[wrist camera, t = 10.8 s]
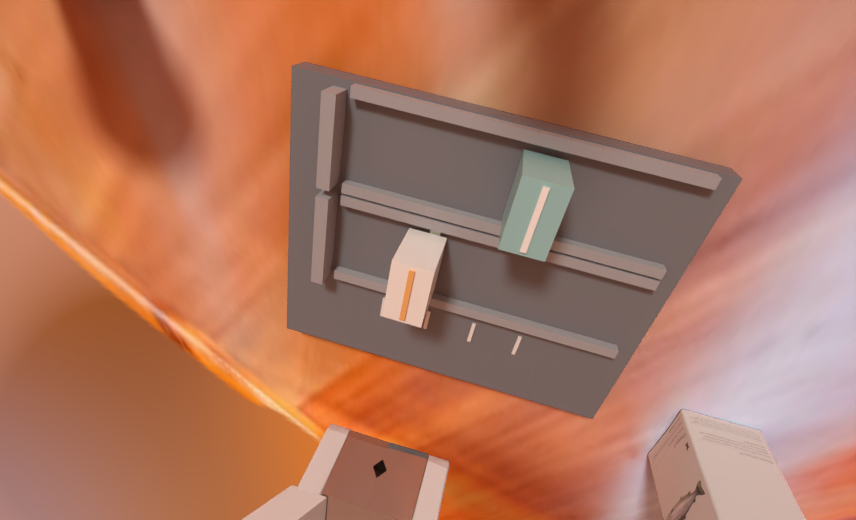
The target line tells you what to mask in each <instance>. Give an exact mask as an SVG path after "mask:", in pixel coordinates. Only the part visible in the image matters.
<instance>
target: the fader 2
mask: <svg viewBox="0 0 856 520" xmlns="http://www.w3.org/2000/svg"><path fill="white" fill-rule="evenodd" d="M574 189H575V188H574V184H573V179H572V174H571V169H570V164H569V161H568V160H564V159H560V158H556V157H552V156H549V155H545V154H541V153H537V152H533V151H529V150H525V149H524V151H523V154H522V157H521V160H520V163H519V166H518V169H517V173H516V176H515V179H514V182H513V185H512V188H511V191H510V195H509V198H508V201H507V204H506V207H505V210H504V213H503V217H502V224H501V231H500V238H499V245H498V249H499V250H503V251H507V252H510V253H514V254H518V255H521V256H525V257H529V258H532V259H536V260H540V261H543V262H545V261H546V258H547V256H548V253H549V251H550V248H551V246H552V243H553V241H554V238H555V236H556V233H557V231H558V228H559V226H560V224H561V221H562V219H563V216H564V214H565V211H566V209H567V206H568V204H569V201H570V199H571V196H572V194H573V191H574Z"/></svg>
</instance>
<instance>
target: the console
mask: <svg viewBox="0 0 856 520" xmlns="http://www.w3.org/2000/svg"><path fill="white" fill-rule="evenodd" d="M524 149H525V150H529V151H533V152H537V153H541V154H545V155H549V156H552V157H556V158H560V159H564V160H568V161H569V164H570V169H571V174H572V179H573V184H574V188H575V189H574V191H573V194H572V196H571V199H570V201H569V204H568V206H567V209H566V211H565V214H564V216H563V219H562V221H561V224H560V226H559V228H558V231H557V233H556V236H555V238H554V241H553V243H552V246H551V248H550V251H549V253H548V256H547V258H546V261H545V262H543V261H540V260H536V259H532V258H529V257H525V256H521V255H518V254H514V253H510V252H507V251H503V250H499V249H498V245H499V238H500V231H501V224H502V217H503V213H504V210H505V207H506V204H507V201H508V198H509V195H510V191H511V188H512V185H513V182H514V179H515V176H516V173H517V169H518V166H519V163H520V160H521V157H522V154H523V151H524ZM741 180H742V178H741V177H740V176H739V175H738V174H737V173H736V172H734V171H733V170H732V169H731V168H728V167H724V166H720V165H716V164H712V163H708V162H704V161H700V160H696V159H692V158H688V157H684V156H680V155H676V154H672V153H668V152H664V151H660V150H656V149H652V148H648V147H644V146H640V145H636V144H632V143H628V142H624V141H620V140H616V139H612V138H608V137H604V136H600V135H596V134H592V133H588V132H584V131H580V130H576V129H572V128H567V127H563V126H559V125H555V124H551V123H547V122H543V121H539V120H535V119H531V118H527V117H523V116H519V115H515V114H511V113H507V112H503V111H499V110H495V109H491V108H487V107H483V106H479V105H475V104H471V103H467V102H463V101H459V100H455V99H451V98H447V97H443V96H439V95H435V94H431V93H427V92H423V91H419V90H415V89H411V88H407V87H403V86H399V85H395V84H391V83H387V82H383V81H379V80H375V79H371V78H367V77H363V76H359V75H355V74H351V73H347V72H343V71H339V70H335V69H331V68H327V67H323V66H319V65H315V64H311V63H307V62H303V63H300V64H296V65H293V66H292V85H291V139H290V192H289V245H288V298H287V328H288V329H292V330H295V331H298V332H302V333H305V334H309V335H312V336H315V337H319V338H322V339H325V340H329V341H332V342H335V343H339V344H342V345H345V346H349V347H352V348H356V349H359V350H362V351H366V352H369V353H372V354H376V355H379V356H382V357H386V358H389V359H393V360H396V361H399V362H403V363H406V364H409V365H413V366H416V367H419V368H423V369H426V370H430V371H433V372H436V373H440V374H443V375H446V376H450V377H453V378H456V379H460V380H463V381H467V382H470V383H473V384H477V385H480V386H483V387H487V388H490V389H493V390H497V391H500V392H504V393H507V394H510V395H514V396H517V397H520V398H524V399H527V400H530V401H534V402H537V403H541V404H544V405H547V406H551V407H554V408H557V409H561V410H564V411H567V412H571V413H574V414H578V415H581V416H584V417H588V418H591V419H593V418H594V416H595V414H596V413H597V411H598V409H599V408H600V406H601V405H602V403H603V401H604V400H605V398H606V397H607V395H608V393H609V392H610V390H611V389H612V387H613V385H614V384H615V382H616V381H617V379H618V377H619V376H620V374H621V373H622V371H623V369H624V368H625V366H626V365H627V363H628V361H629V360H630V358H631V357H632V355H633V353H634V352H635V350H636V349H637V347H638V345H639V344H640V342H641V341H642V339H643V337H644V336H645V334H646V333H647V331H648V329H649V328H650V326H651V325H652V323H653V321H654V320H655V318H656V317H657V315H658V313H659V312H660V310H661V309H662V307H663V305H664V304H665V302H666V301H667V299H668V297H669V296H670V294H671V293H672V291H673V289H674V288H675V286H676V285H677V283H678V281H679V280H680V278H681V277H682V275H683V273H684V272H685V270H686V268H687V267H688V265H689V264H690V262H691V260H692V259H693V257H694V256H695V254H696V252H697V251H698V249H699V248H700V246H701V244H702V243H703V241H704V240H705V238H706V236H707V235H708V233H709V232H710V230H711V228H712V227H713V225H714V224H715V222H716V220H717V219H718V217H719V216H720V214H721V212H722V211H723V209H724V208H725V206H726V204H727V203H728V201H729V200H730V198H731V196H732V195H733V193H734V192H735V190H736V188H737V187H738V185H739V184H740V182H741ZM409 228H412V229H416V230H419V231H423V232H427V233H430V234H434V235H438V236H441V237H445V238H447V240H446V244H445V248H444V252H443V256H442V261H441V265H440V269H439V273H438V277H437V281H436V285H435V289H434V292H433V295H432V298H431V301H430V303H429V306H428V309H427V312H426V315H425V318H424V321H423V324H422V327H421V328H420V327H417V326H413V325H410V324H406V323H403V322H399V321H396V320H392V319H389V318H386V317H382V313H383V308H384V302H385V296H386V290H387V285H388V279H389V273H390V267H391V262H392V259H393V257H394V255H395V254H396V252H397V250H398V248H399V246H400V244H401V243H402V241H403V239H404V237H405V235H406V233H407V231H408V230H409Z"/></svg>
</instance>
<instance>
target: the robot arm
mask: <svg viewBox="0 0 856 520" xmlns="http://www.w3.org/2000/svg"><path fill="white" fill-rule="evenodd" d="M428 455H429V454H427V453H423V452H420V451H417V450H413V449H410V448H407V447H403V446H400V445H397V444H393V443H389V442H386V441H383V440H380V439H377V438H374V437H370V436H367V435H364V434H361V433H358V432H355V431H352V430H350V429H347V428H344V427H340V426H337V425H334V424H331V425H330V426H329V428H328V429H327V430H326V432H325V434H324V436H323V438H322V440H321V442H320V444H319V446H318V448H317V450H316V452H315V454H314V456H313V458H312V460H311V462H310V464H309V466H308V467H307V470H306V471H305V473H304V475H303V478H302V479H301V481H300V483H299V485H298V487H296V486H293V485H291V486H290V487H288V488H287V489H285V490H284V491H282V492H281V493H280V494H278V495H277V496H275V497H274V498H272V499H271V500H269V501H268V502H267V503H265V504H264V505H262V506H261V507H259V508H258V509H257V510H255V511H254V512H252V513H251V514H249V515H248V516H246V517H245V518H243V519H242V520H438V518H439V513H440V508H441V503H442V499H443V494H444V489H445V484H446V479H447V474H448V470H449V461H448V460H445V459H441V458H438V457H435V456H432V455H429V456H428Z"/></svg>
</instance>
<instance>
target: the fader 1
mask: <svg viewBox="0 0 856 520" xmlns="http://www.w3.org/2000/svg"><path fill="white" fill-rule="evenodd" d="M446 240H447V238H445V237H441V236H438V235H434V234H430V233H427V232H423V231H419V230H416V229H412V228H409V230H408V231H407V233H406V235H405V237H404V239H403V241H402V243H401V244H400V246H399V248H398V250H397V252H396V254H395V255H394V257H393V259H392V262H391V267H390V273H389V279H388V285H387V290H386V296H385V302H384V308H383V313H382V317H386V318H389V319H392V320H396V321H399V322H403V323H406V324H410V325H413V326H417V327H420V328H421V327H422V324H423V321H424V318H425V315H426V312H427V309H428V306H429V303H430V301H431V298H432V295H433V292H434V289H435V285H436V281H437V277H438V273H439V269H440V265H441V261H442V256H443V252H444V248H445V244H446Z"/></svg>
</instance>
